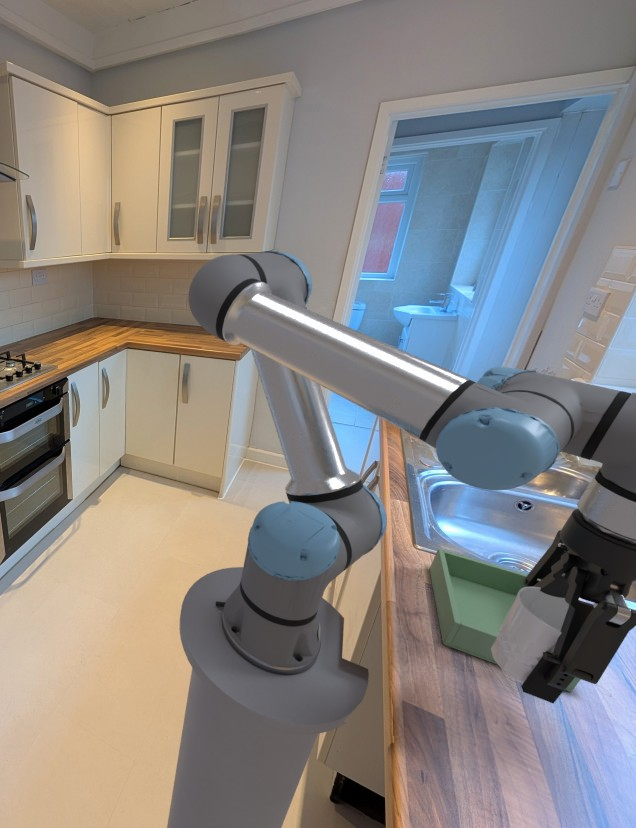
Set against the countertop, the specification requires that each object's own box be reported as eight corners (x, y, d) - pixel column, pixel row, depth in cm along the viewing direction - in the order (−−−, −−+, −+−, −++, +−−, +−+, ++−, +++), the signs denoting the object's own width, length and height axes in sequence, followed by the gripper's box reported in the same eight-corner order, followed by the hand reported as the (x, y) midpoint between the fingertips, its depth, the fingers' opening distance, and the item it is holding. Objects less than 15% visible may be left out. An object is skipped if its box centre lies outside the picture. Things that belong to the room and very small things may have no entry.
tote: (442, 644, 67) (454, 622, 65) (429, 568, 82) (438, 548, 79) (571, 692, 60) (588, 669, 58) (531, 600, 75) (544, 579, 73)
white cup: (496, 629, 59) (529, 576, 55) (576, 675, 53) (620, 621, 49) (475, 658, 55) (508, 604, 51) (558, 712, 49) (604, 656, 45)
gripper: (751, 613, 35) (602, 764, 45) (630, 487, 51) (540, 619, 60) (620, 576, 38) (509, 724, 48) (545, 469, 54) (473, 597, 64)
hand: (526, 666), depth 54 cm, fingers closed on white cup, 8 cm apart
